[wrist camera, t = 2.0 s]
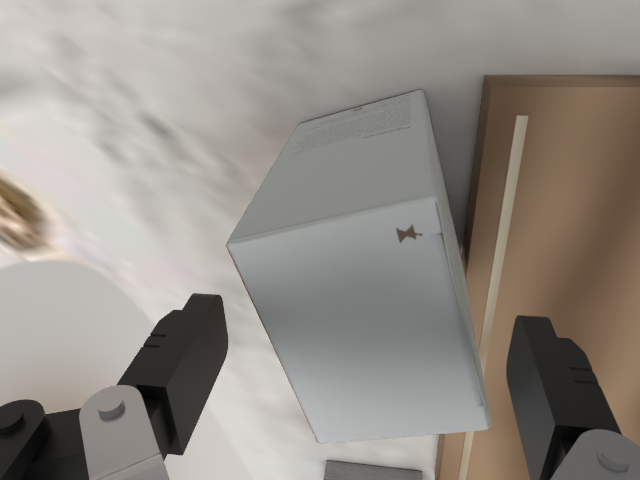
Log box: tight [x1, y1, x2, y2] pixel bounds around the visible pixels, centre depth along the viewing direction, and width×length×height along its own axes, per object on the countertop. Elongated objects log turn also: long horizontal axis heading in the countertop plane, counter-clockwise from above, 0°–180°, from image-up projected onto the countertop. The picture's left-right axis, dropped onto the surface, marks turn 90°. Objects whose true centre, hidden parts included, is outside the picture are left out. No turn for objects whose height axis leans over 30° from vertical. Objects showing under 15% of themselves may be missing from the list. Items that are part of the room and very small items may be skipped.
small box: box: [226, 90, 491, 444], centre depth 18 cm, size 8×6×10 cm
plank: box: [435, 76, 640, 480], centre depth 24 cm, size 10×24×2 cm, turn 2°
